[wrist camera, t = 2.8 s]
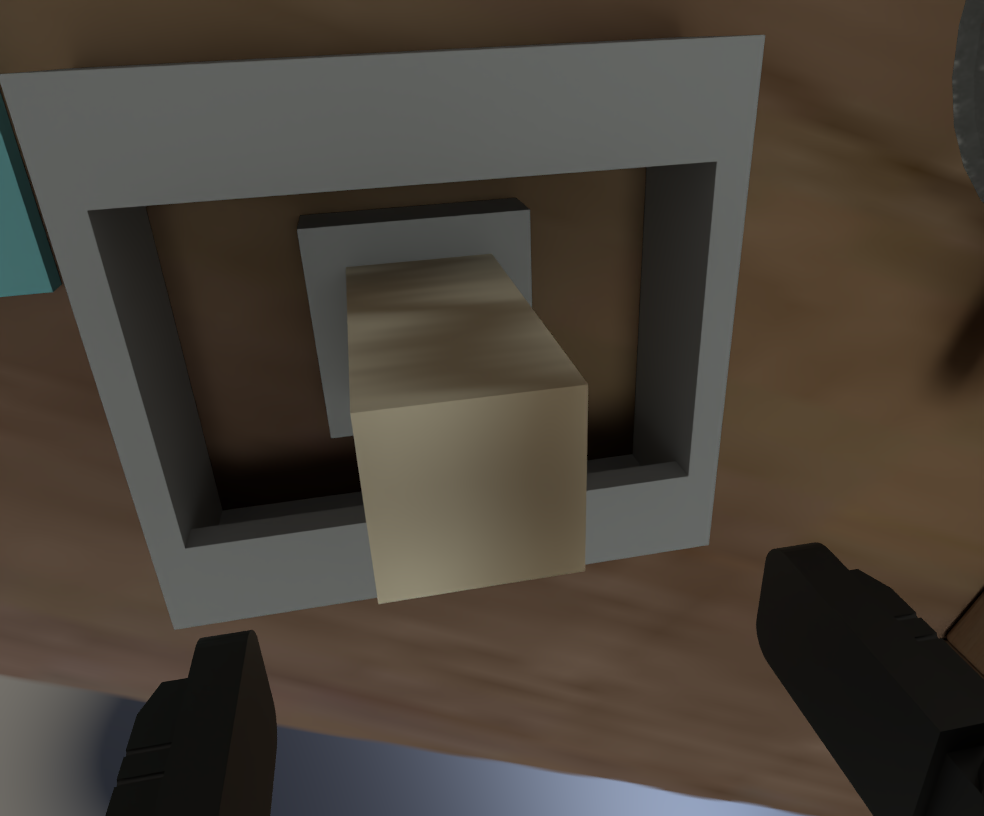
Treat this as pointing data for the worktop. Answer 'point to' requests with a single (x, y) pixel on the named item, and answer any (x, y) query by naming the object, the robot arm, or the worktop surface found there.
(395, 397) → the birch block
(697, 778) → the worktop surface
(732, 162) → the open gray rectangular frame
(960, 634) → the wooden block
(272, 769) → the robot arm
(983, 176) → the tankard
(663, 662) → the worktop surface
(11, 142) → the mat
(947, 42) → the worktop surface
